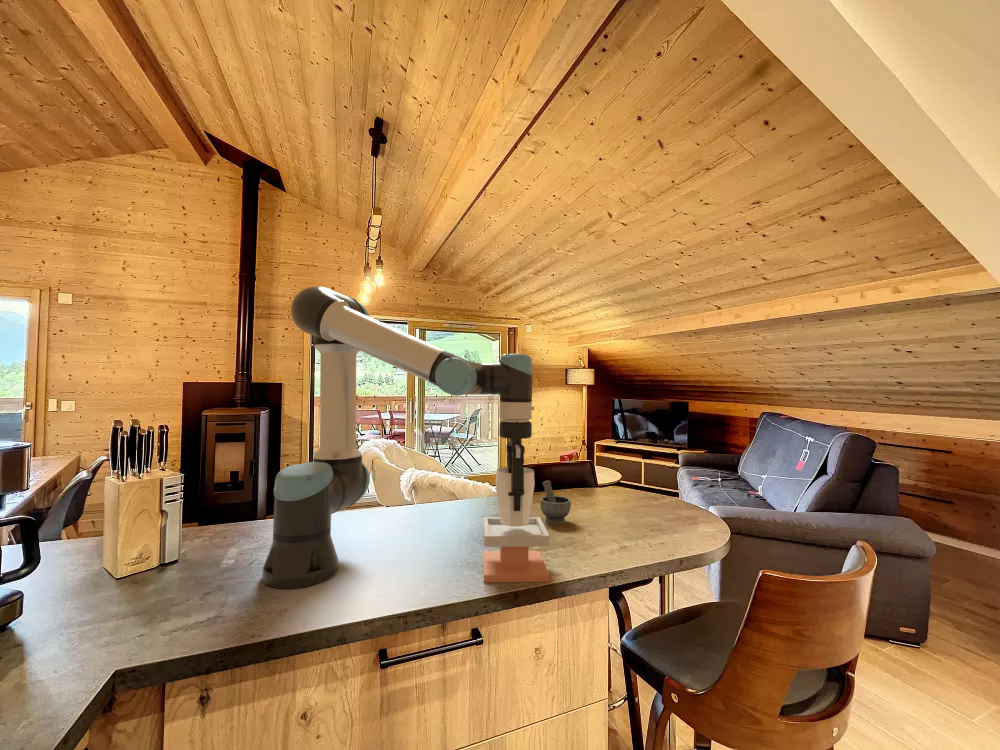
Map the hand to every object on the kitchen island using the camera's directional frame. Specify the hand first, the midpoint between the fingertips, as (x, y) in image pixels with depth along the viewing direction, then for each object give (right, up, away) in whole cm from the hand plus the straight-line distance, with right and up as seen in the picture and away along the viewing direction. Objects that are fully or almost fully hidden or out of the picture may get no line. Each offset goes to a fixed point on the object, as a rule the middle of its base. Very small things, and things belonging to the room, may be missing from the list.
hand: (514, 518), depth 102 cm
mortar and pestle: (+14, -13, +37) cm, 42 cm away
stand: (0, -11, 0) cm, 11 cm away
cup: (0, -1, 0) cm, 1 cm away
